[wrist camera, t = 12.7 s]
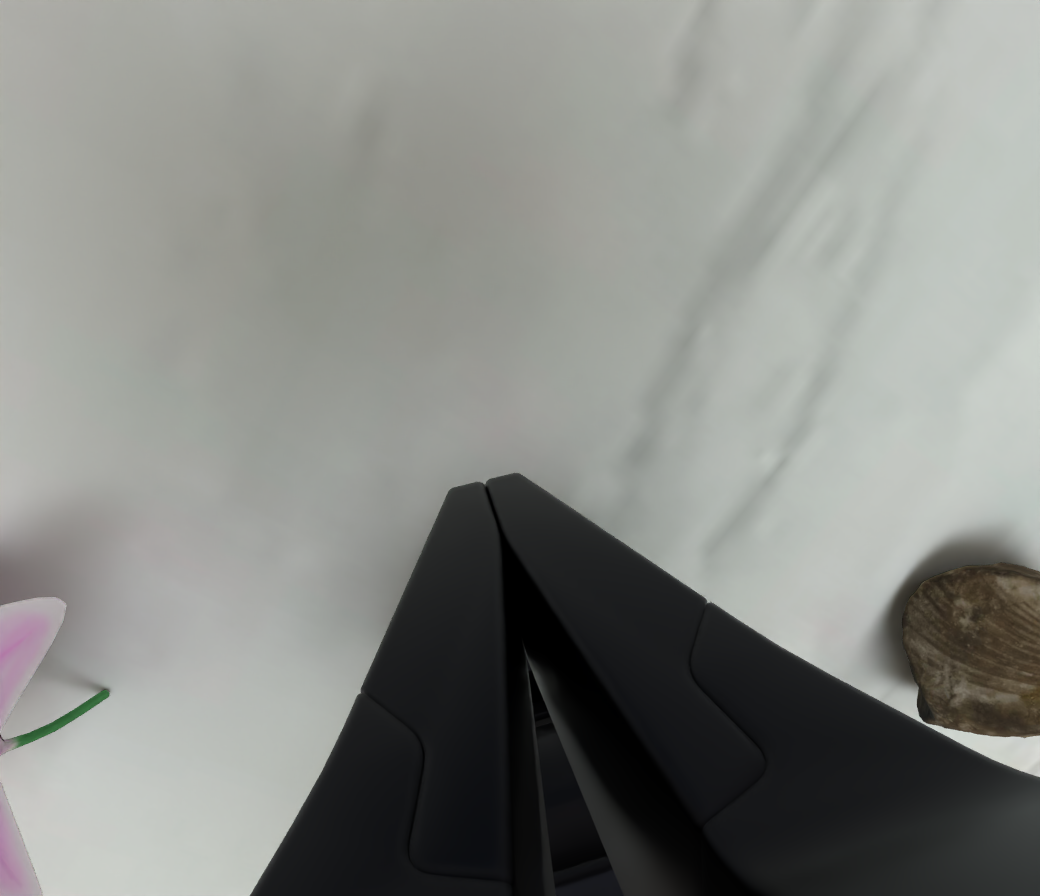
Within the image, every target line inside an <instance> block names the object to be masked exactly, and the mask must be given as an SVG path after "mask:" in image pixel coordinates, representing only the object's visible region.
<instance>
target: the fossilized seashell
mask: <svg viewBox="0 0 1040 896" xmlns="http://www.w3.org/2000/svg"><path fill="white" fill-rule="evenodd" d="M902 628H903V635H902V641H903V646H904V650H905V652H906V654H907V657H908V660H909V663H910V667H911V670H912V674H913V677H914V680H915V682H916V684H917V685H918V687H919V690H918V697H917V708H918V711H919V716H920V717H921V718H922V720H923V721H924V722H926V723H928V724H933V725H938V726H942V727H944V728H948V729H954V730H959V731H964V732H971V733H975V734H980V735H988V736H1000V737H1011V736H1016V737H1023V738H1026V737H1031V736H1039V735H1040V572H1039V571H1036V570H1033V569H1029V568H1027V567H1024V566H1019V565H1014V564H1008V563H1002V562H1001V563H997V564H992V565H981V566H977V565H970V566H964V567H961V568H957V569H954V570H951V571H947V572H944V573H941V574H939V575H936V576H934V577H931V578H929V579H928V580H926V581H924V582H923V583H922V584H921V585H920V586H919V588H918V589H917V591H916V592H915V593H914V594H913V595H912V596H910V598H909V600H908V602H907V604H906V607H905V611H904V614H903V618H902Z"/></svg>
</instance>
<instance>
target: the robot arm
mask: <svg viewBox="0 0 1040 896" xmlns="http://www.w3.org/2000/svg"><path fill="white" fill-rule="evenodd" d="M250 896H1040V777H1037V776H1034V775H1031V774H1028V773H1025V772H1021V771H1019V770H1016V769H1014V768H1011V767H1009V766H1007V765H1004V764H1002V763H999V762H997V761H994V760H992V759H990V758H988V757H986V756H984V755H982V754H980V753H978V752H976V751H974V750H972V749H970V748H968V747H966V746H964V745H962V744H960V743H958V742H956V741H954V740H952V739H950V738H949V737H947V736H945V735H943V734H941V733H939V732H937V731H935V730H934V729H932V728H930V727H928V726H926V725H924V724H922V723H920V722H918V721H917V720H915V719H913V718H911V717H909V716H907V715H905V714H903V713H901V712H900V711H898V710H896V709H894V708H892V707H890V706H888V705H886V704H884V703H883V702H881V701H879V700H877V699H875V698H873V697H871V696H869V695H868V694H866V693H864V692H862V691H860V690H858V689H856V688H854V687H852V686H851V685H849V684H847V683H845V682H843V681H841V680H839V679H837V678H835V677H834V676H832V675H830V674H828V673H826V672H825V671H823V670H821V669H819V668H817V667H816V666H814V665H812V664H810V663H809V662H807V661H805V660H803V659H801V658H800V657H798V656H796V655H794V654H793V653H791V652H789V651H787V650H785V649H784V648H782V647H780V646H779V645H777V644H775V643H774V642H772V641H771V640H769V639H767V638H766V637H764V636H763V635H761V634H760V633H758V632H756V631H755V630H753V629H752V628H750V627H748V626H747V625H745V624H744V623H742V622H741V621H739V620H737V619H736V618H734V617H733V616H731V615H730V614H728V613H727V612H725V611H724V610H722V609H721V608H720V607H718V606H717V605H715V604H714V603H711V602H710V603H707V600H706V599H705V598H704V597H703V596H701V595H700V594H698V593H697V592H695V591H694V590H692V589H691V588H689V587H688V586H686V585H685V584H683V583H682V582H680V581H679V580H677V579H676V578H674V577H673V576H671V575H670V574H668V573H667V572H666V571H664V570H663V569H661V568H660V567H658V566H657V565H655V564H654V563H652V562H651V561H649V560H648V559H646V558H645V557H643V556H642V555H640V554H639V553H637V552H636V551H634V550H633V549H631V548H630V547H628V546H627V545H625V544H624V543H622V542H621V541H619V540H618V539H616V538H615V537H614V536H612V535H611V534H609V533H608V532H606V531H605V530H603V529H602V528H600V527H599V526H597V525H596V524H594V523H593V522H591V521H590V520H588V519H587V518H585V517H584V516H582V515H581V514H579V513H578V512H576V511H575V510H573V509H572V508H570V507H569V506H567V505H566V504H565V503H563V502H562V501H560V500H559V499H557V498H556V497H554V496H553V495H551V494H550V493H548V492H547V491H545V490H544V489H542V488H541V487H539V486H538V485H536V484H535V483H533V482H532V481H530V480H529V479H527V478H526V477H524V476H523V475H521V474H519V473H513V474H509V475H504V476H500V477H496V478H492V479H489V480H488V481H487V482H486V487H485V485H484V484H483V483H481V482H475V483H471V484H467V485H462V486H458V487H454V488H451V489H450V490H449V492H448V494H447V496H446V498H445V500H444V503H443V505H442V507H441V509H440V512H439V514H438V516H437V518H436V521H435V523H434V525H433V527H432V530H431V532H430V534H429V536H428V539H427V541H426V543H425V545H424V548H423V550H422V552H421V554H420V557H419V559H418V561H417V563H416V566H415V568H414V570H413V572H412V575H411V577H410V579H409V581H408V584H407V586H406V588H405V590H404V593H403V595H402V597H401V599H400V602H399V604H398V606H397V608H396V611H395V613H394V615H393V617H392V620H391V622H390V624H389V626H388V629H387V631H386V633H385V635H384V638H383V640H382V642H381V644H380V647H379V649H378V651H377V653H376V656H375V658H374V660H373V662H372V665H371V667H370V669H369V671H368V674H367V676H366V678H365V680H364V683H363V685H362V687H361V693H360V694H359V695H358V696H357V697H356V700H355V702H354V704H353V707H352V709H351V711H350V713H349V716H348V718H347V720H346V723H345V725H344V727H343V729H342V731H341V733H340V735H339V737H338V739H337V741H336V743H335V746H334V748H333V750H332V752H331V754H330V756H329V758H328V760H327V762H326V764H325V766H324V768H323V770H322V772H321V774H320V776H319V777H318V779H317V781H316V783H315V785H314V786H313V788H312V790H311V792H310V794H309V795H308V797H307V799H306V801H305V802H304V804H303V806H302V808H301V810H300V811H299V813H298V815H297V817H296V818H295V820H294V822H293V824H292V826H291V827H290V829H289V831H288V832H287V834H286V836H285V837H284V839H283V841H282V843H281V844H280V846H279V848H278V849H277V851H276V853H275V854H274V856H273V858H272V859H271V861H270V863H269V864H268V866H267V868H266V869H265V871H264V873H263V875H262V876H261V878H260V880H259V881H258V883H257V885H256V886H255V888H254V890H253V891H252V893H251V895H250Z"/></svg>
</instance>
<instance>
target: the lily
mask: <svg viewBox="0 0 1040 896" xmlns="http://www.w3.org/2000/svg"><path fill="white" fill-rule="evenodd" d="M66 605H67V604H66V603H65V602H63V601H62V600H60V599H59V598H57V597H40V598H32V599H27V600H22V601H18V602H13V603H8V604H5V605H2V606H0V733H1V731H2V729H3V727H4V725H5V723H6V721H7V719H8V717H9V715H10V714H11V712H12V710H13V709H14V707H15V705H16V704H17V702H18V700H19V698H20V697H21V695H22V693H23V692H24V690H25V688H26V687H27V685H28V683H29V682H30V680H31V678H32V677H33V675H34V673H35V672H36V670H37V668H38V667H39V665H40V663H41V662H42V660H43V658H44V657H45V655H46V653H47V652H48V650H49V648H50V647H51V645H52V643H53V641H54V639H55V637H56V635H57V633H58V631H59V629H60V627H61V625H62V623H63V621H64V617H65V611H66ZM108 697H109V692H108V691H107V690H103V691H101V692H100V693H98V694H97V695H95V696H94V697H92V698H91V699H89V700H88V701H86V702H85V703H83V704H82V705H80V706H79V707H77V708H75V709H74V710H72V711H70V712H69V713H67V714H65V715H64V716H62V717H60V718H59V719H57V720H55V721H54V722H52V723H50V724H48V725H46V726H43V727H41V728H39V729H37V730H34V731H32V732H30V733H27V734H24V735H20V736H17V737H14V738H10V739H6V740H3V739H2V737H1V735H0V756H1V755H3V754H4V753H6V752H8V751H10V750H13V749H15V748H18V747H20V746H23V745H25V744H28V743H30V742H33V741H35V740H37V739H39V738H41V737H44V736H46V735H48V734H50V733H52V732H55V731H56V730H58V729H60V728H61V727H63V726H65V725H66V724H68V723H70V722H71V721H73V720H74V719H76V718H78V717H79V716H81V715H82V714H84V713H85V712H87V711H88V710H90V709H91V708H93V707H94V706H96V705H97V704H99V703H100V702H102V701H103V700H105V699H106V698H108ZM0 896H43V895H42V890H41V887H40V884H39V881H38V878H37V876H36V873H35V870H34V867H33V865H32V862H31V859H30V857H29V854H28V851H27V849H26V846H25V844H24V841H23V838H22V836H21V833H20V830H19V828H18V825H17V823H16V820H15V817H14V815H13V812H12V810H11V807H10V804H9V802H8V799H7V797H6V794H5V791H4V789H3V786H2V784H1V781H0Z"/></svg>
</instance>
